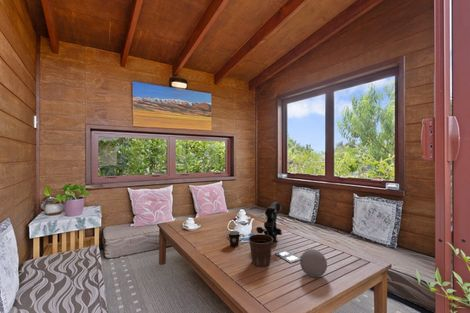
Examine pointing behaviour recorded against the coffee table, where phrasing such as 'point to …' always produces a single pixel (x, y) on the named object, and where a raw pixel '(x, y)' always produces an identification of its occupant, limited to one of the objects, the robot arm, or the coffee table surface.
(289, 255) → the panel
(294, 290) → the coffee table surface
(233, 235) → the coffee mug
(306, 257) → the decorative ball
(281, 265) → the coffee table surface
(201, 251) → the coffee table surface
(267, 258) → the plant pot
